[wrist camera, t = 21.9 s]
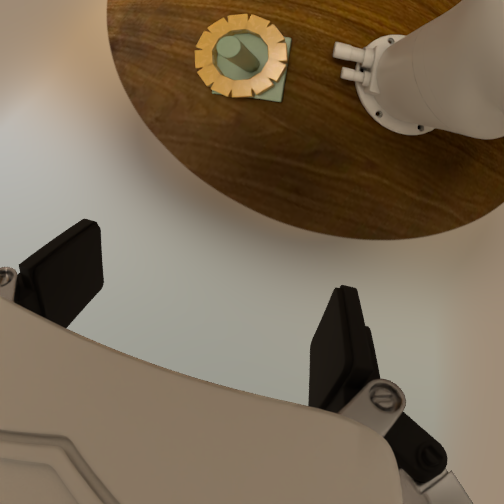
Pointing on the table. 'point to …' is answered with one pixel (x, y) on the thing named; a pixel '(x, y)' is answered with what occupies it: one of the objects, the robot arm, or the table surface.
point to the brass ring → (234, 25)
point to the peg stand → (248, 61)
